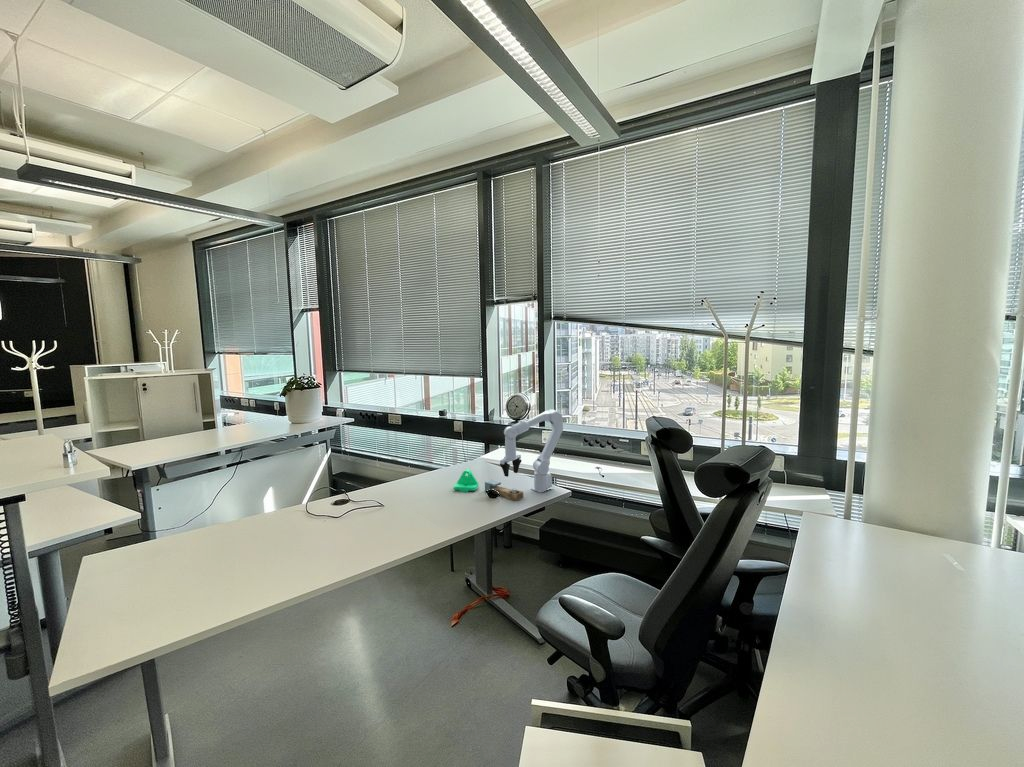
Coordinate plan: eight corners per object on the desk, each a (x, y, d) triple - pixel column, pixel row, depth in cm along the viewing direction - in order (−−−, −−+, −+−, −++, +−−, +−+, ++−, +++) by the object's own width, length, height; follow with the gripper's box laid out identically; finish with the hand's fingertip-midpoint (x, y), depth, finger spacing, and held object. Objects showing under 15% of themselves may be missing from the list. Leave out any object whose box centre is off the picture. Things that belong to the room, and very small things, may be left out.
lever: (523, 497, 230) (523, 491, 230) (515, 500, 225) (515, 495, 225) (498, 490, 241) (498, 485, 241) (490, 493, 236) (490, 488, 236)
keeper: (484, 491, 240) (484, 481, 240) (491, 488, 244) (491, 479, 243) (494, 494, 235) (494, 484, 235) (501, 491, 239) (501, 482, 239)
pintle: (514, 496, 231) (514, 488, 231) (517, 498, 230) (517, 489, 229) (511, 497, 230) (510, 489, 229) (513, 499, 228) (513, 490, 228)
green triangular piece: (453, 491, 241) (452, 472, 240) (457, 486, 249) (457, 468, 248) (474, 492, 239) (474, 473, 238) (478, 487, 247) (478, 469, 246)
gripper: (513, 445, 244) (514, 469, 245) (495, 451, 233) (496, 476, 235) (523, 447, 240) (524, 472, 241) (505, 453, 229) (506, 478, 230)
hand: (511, 474), depth 237 cm, fingers open, 7 cm apart
